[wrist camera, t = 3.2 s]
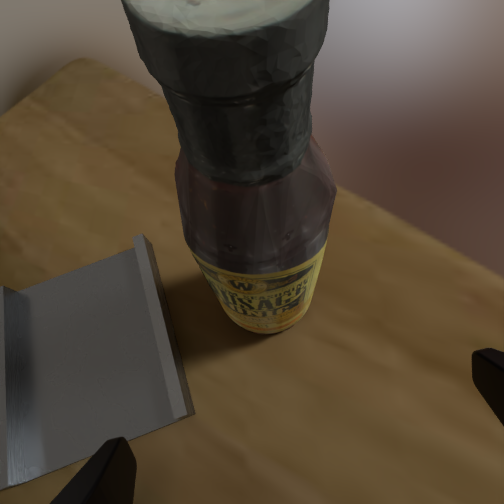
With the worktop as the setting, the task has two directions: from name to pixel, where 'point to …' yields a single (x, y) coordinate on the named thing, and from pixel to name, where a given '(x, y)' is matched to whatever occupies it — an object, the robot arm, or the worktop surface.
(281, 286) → the sauce bottle
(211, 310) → the worktop surface
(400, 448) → the worktop surface
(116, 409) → the floor track
